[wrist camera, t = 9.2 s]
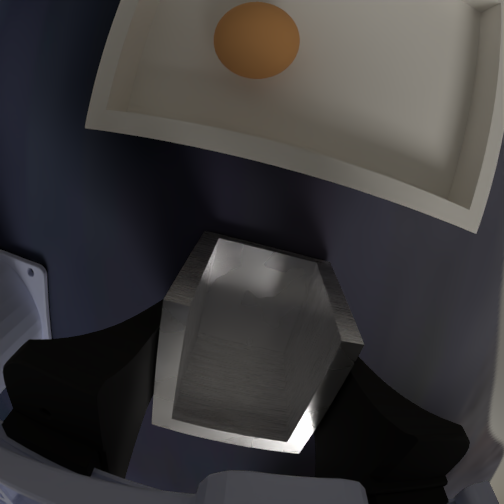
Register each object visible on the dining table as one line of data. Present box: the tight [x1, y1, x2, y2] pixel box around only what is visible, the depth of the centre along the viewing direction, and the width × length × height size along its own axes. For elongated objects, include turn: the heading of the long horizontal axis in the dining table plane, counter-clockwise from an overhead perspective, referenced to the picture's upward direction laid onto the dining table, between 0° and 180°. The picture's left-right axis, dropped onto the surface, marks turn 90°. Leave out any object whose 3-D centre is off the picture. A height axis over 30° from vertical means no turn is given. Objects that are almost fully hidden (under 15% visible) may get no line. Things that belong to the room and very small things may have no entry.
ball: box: [214, 2, 300, 79], centre depth 9 cm, size 3×3×3 cm
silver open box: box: [152, 231, 364, 454], centre depth 12 cm, size 6×6×6 cm
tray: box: [85, 0, 504, 234], centre depth 10 cm, size 16×12×2 cm
